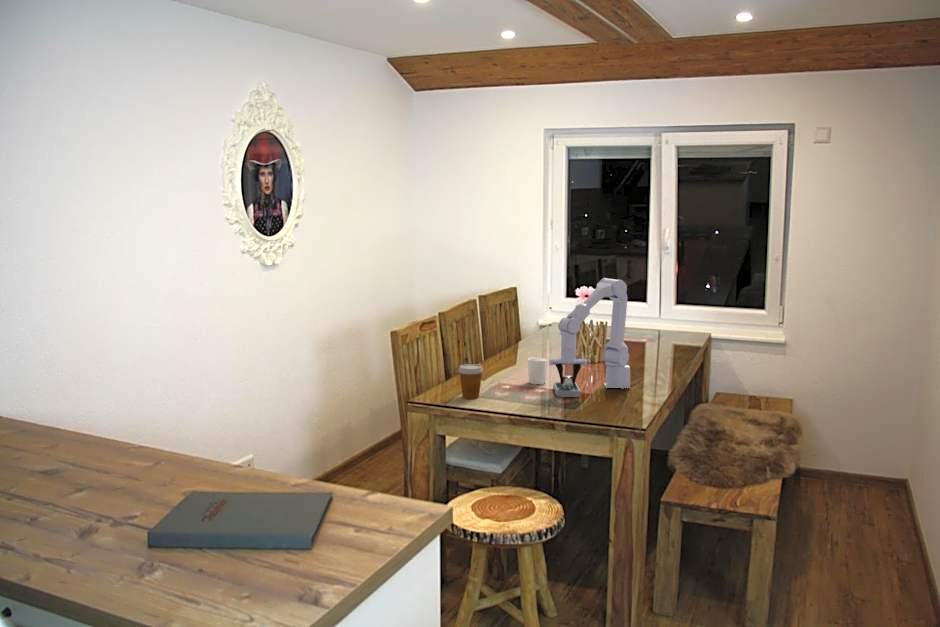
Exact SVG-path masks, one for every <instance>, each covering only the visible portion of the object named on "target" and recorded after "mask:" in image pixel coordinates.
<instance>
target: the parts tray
mask: <svg viewBox="0 0 940 627" xmlns="http://www.w3.org/2000/svg"><path fill="white" fill-rule="evenodd" d="M554 390H555V391H554ZM553 391H554V393H555V396H556V395H557V396H559V397H558V398H581V389H580V387H579V384H578V382H576V381H575V384H573V390H569V391H567V390H561V388H560V381H558V382H557V381H556V382H555V381H554V382H553ZM557 396H556V397H557ZM560 396H561V397H560Z"/></svg>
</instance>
